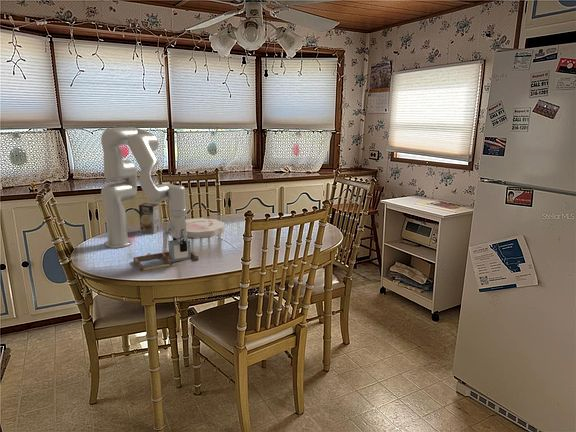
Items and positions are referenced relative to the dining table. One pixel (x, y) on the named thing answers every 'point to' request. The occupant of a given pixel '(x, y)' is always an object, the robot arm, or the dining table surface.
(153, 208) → the coffee box
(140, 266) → the frame
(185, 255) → the pale gray rectangular prism
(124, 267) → the dining table surface
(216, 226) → the decorative plaque
